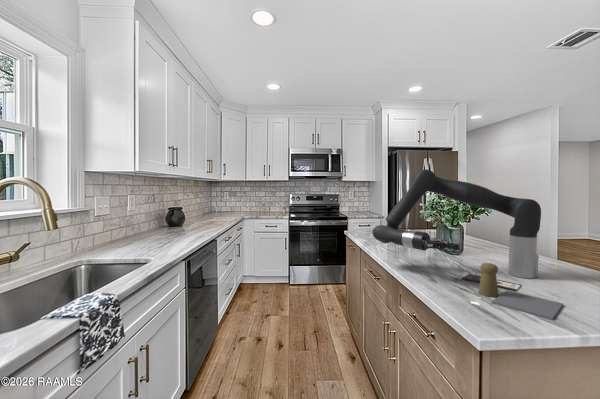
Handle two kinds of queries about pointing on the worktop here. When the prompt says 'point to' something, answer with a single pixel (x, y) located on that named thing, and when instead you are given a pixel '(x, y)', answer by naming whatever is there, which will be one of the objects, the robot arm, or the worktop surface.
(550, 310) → the mat
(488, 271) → the cork
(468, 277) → the chocolate bar
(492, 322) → the worktop surface
